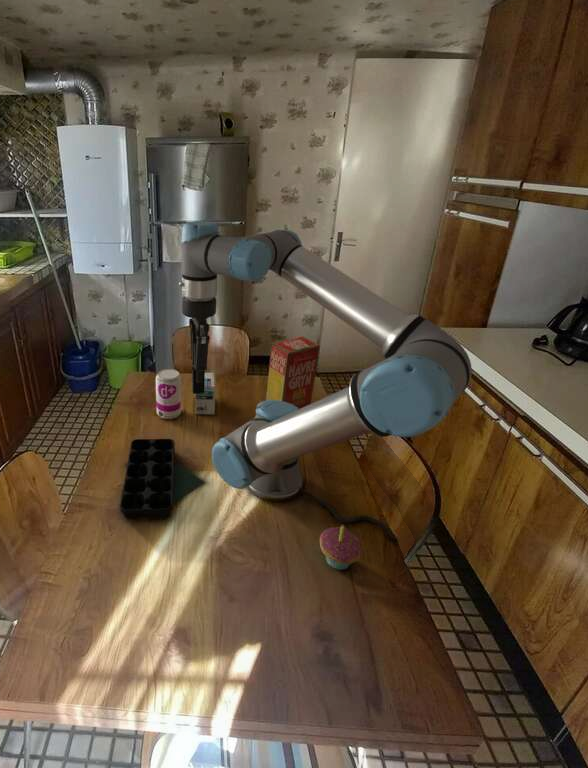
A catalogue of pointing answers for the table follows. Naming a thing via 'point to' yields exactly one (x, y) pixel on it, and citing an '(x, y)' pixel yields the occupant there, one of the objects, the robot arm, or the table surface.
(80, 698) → the table surface
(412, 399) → the robot arm
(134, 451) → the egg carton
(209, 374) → the light bulb box
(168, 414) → the supplement can
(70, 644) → the table surface
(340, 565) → the cupcake
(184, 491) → the mat
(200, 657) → the table surface
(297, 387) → the food packaging
